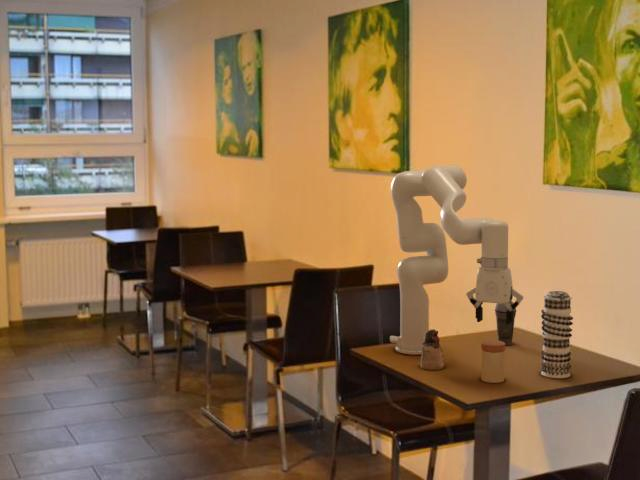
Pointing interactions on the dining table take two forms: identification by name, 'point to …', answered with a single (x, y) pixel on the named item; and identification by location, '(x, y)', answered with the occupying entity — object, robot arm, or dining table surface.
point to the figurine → (432, 352)
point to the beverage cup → (504, 324)
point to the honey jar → (493, 366)
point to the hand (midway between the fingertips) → (494, 322)
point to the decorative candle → (556, 335)
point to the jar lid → (493, 346)
